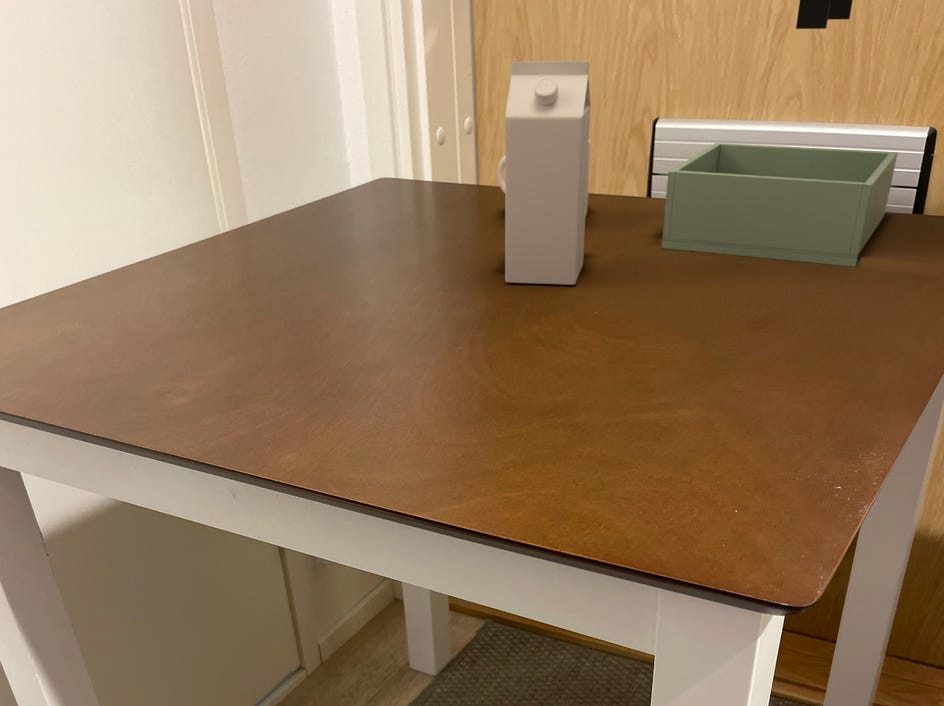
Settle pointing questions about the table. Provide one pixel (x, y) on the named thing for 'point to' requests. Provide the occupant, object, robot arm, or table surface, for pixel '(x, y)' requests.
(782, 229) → the open box
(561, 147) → the milk carton
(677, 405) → the table surface
